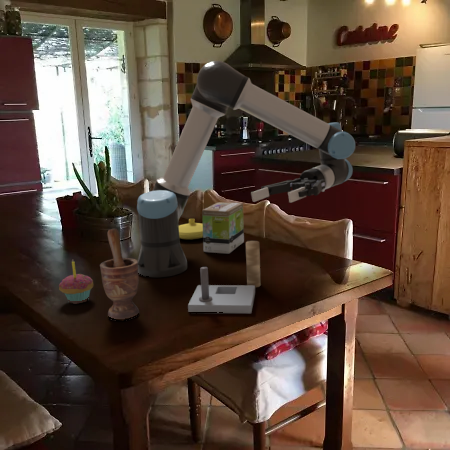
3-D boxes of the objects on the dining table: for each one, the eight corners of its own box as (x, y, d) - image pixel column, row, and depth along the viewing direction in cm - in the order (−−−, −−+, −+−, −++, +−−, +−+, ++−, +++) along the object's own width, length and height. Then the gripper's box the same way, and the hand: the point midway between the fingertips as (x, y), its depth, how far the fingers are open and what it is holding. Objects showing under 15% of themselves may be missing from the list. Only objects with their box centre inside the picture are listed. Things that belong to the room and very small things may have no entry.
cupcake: (95, 304, 122) (90, 259, 119) (60, 309, 120) (54, 264, 117) (94, 293, 130) (89, 250, 127) (61, 297, 128) (56, 254, 125)
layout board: (188, 312, 115) (185, 272, 112) (198, 292, 127) (196, 256, 125) (251, 313, 113) (249, 272, 110) (255, 292, 125) (253, 255, 123)
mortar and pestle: (94, 311, 118) (85, 232, 113) (125, 301, 123) (118, 225, 119) (115, 325, 109) (106, 241, 105) (148, 314, 115) (141, 233, 110)
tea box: (230, 254, 159) (228, 210, 156) (202, 252, 163) (200, 209, 159) (244, 242, 173) (243, 201, 169) (218, 240, 176) (216, 201, 173)
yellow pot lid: (221, 236, 182) (221, 218, 181) (188, 245, 172) (186, 226, 171) (196, 230, 194) (195, 212, 192) (164, 237, 184) (162, 220, 183)
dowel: (246, 287, 129) (245, 244, 126) (247, 282, 132) (246, 240, 130) (260, 287, 129) (258, 244, 126) (260, 282, 132) (259, 240, 129)
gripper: (353, 192, 138) (308, 211, 125) (286, 192, 156) (241, 209, 143) (350, 166, 136) (304, 183, 123) (282, 169, 155) (236, 184, 141)
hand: (270, 197), depth 133 cm, fingers open, 13 cm apart
